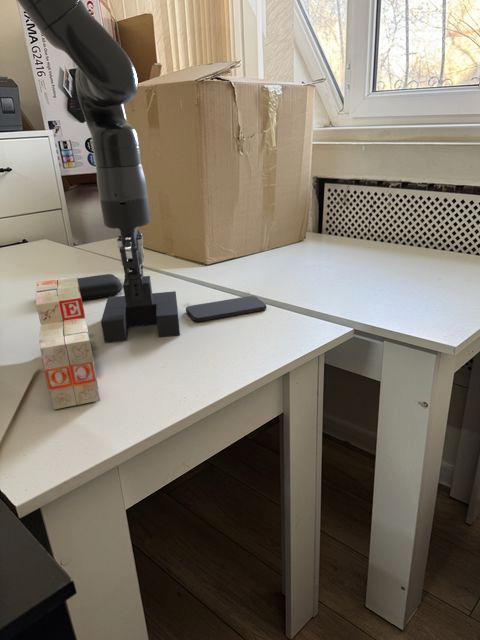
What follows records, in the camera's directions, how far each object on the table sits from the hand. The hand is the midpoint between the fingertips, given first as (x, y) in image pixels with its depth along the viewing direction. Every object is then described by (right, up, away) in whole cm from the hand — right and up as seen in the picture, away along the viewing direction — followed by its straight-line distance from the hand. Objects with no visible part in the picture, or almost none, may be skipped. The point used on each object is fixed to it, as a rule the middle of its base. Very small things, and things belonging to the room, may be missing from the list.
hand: (138, 295), depth 89 cm
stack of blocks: (-7, -13, -11) cm, 19 cm away
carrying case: (-17, +3, +24) cm, 30 cm away
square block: (0, -1, +1) cm, 1 cm away
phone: (+15, -2, +11) cm, 19 cm away
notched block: (-1, -5, +6) cm, 8 cm away
